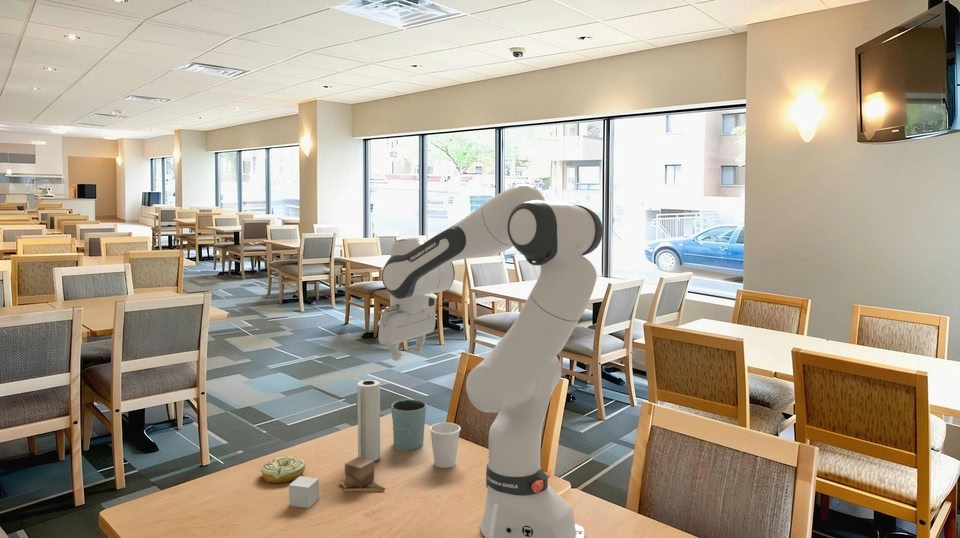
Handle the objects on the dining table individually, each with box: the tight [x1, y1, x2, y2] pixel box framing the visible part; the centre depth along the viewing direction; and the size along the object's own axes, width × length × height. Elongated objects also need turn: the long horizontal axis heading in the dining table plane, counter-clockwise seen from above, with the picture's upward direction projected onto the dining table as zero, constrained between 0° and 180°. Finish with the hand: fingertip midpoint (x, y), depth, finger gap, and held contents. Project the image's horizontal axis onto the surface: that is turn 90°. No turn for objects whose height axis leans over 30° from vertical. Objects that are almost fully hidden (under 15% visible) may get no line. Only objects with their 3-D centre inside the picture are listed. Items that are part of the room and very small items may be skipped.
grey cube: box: [288, 475, 320, 509], centre depth 150 cm, size 5×5×5 cm
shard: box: [338, 478, 386, 492], centre depth 157 cm, size 11×8×2 cm
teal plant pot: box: [390, 398, 427, 451], centre depth 185 cm, size 10×10×12 cm
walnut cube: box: [344, 456, 375, 488], centre depth 158 cm, size 5×5×5 cm
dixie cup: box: [429, 422, 462, 469], centre depth 172 cm, size 8×8×10 cm
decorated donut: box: [260, 455, 306, 484], centre depth 164 cm, size 10×11×4 cm
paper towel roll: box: [356, 379, 381, 462], centre depth 174 cm, size 7×6×21 cm
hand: (407, 355), depth 163 cm, fingers open, 8 cm apart
